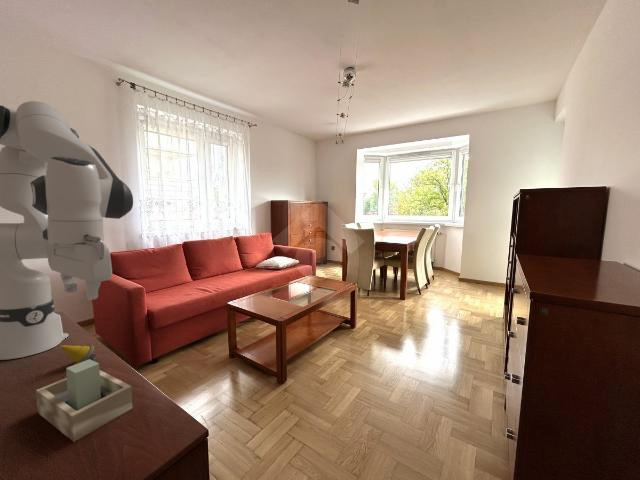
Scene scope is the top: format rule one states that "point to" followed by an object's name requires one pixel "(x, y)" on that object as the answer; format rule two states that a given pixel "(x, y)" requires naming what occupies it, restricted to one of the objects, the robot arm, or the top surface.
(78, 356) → the drill bit
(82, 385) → the peg
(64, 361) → the top surface
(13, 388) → the top surface
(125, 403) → the box
